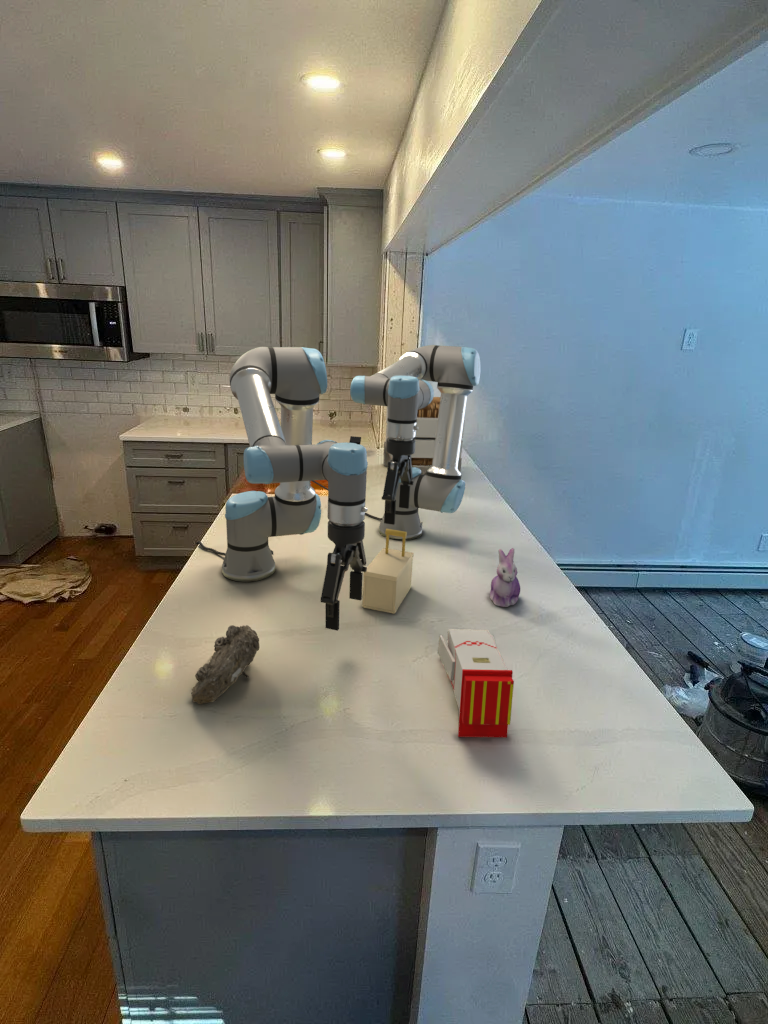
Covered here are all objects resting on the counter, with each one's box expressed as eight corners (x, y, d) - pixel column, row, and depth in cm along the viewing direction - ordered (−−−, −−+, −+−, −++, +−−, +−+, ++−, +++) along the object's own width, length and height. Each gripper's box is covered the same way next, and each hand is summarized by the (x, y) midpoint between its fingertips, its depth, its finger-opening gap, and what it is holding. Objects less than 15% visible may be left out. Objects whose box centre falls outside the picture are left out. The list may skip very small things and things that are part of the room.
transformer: (382, 463, 289) (386, 382, 275) (445, 464, 293) (451, 384, 279) (390, 482, 257) (394, 392, 243) (460, 483, 261) (468, 394, 247)
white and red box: (488, 613, 130) (523, 677, 101) (484, 667, 133) (517, 744, 104) (435, 612, 130) (455, 676, 101) (432, 666, 133) (451, 743, 103)
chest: (380, 582, 164) (382, 552, 161) (410, 587, 162) (412, 557, 159) (362, 607, 150) (363, 575, 147) (394, 613, 147) (396, 581, 144)
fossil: (211, 627, 129) (258, 597, 124) (240, 656, 132) (287, 627, 127) (170, 698, 110) (224, 665, 105) (204, 729, 113) (259, 699, 108)
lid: (383, 551, 162) (384, 523, 159) (413, 556, 159) (415, 528, 156) (363, 575, 147) (364, 545, 144) (396, 581, 144) (398, 550, 141)
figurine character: (360, 458, 303) (361, 448, 316) (361, 444, 299) (361, 435, 313) (348, 457, 302) (349, 447, 316) (348, 444, 299) (349, 434, 312)
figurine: (502, 611, 151) (509, 560, 146) (479, 594, 159) (485, 545, 154) (530, 604, 155) (537, 554, 150) (506, 588, 163) (512, 540, 158)
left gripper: (340, 545, 102) (338, 646, 109) (382, 504, 125) (379, 590, 132) (302, 539, 104) (303, 639, 111) (351, 500, 127) (349, 585, 134)
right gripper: (401, 449, 133) (397, 533, 141) (426, 430, 156) (421, 503, 163) (371, 446, 136) (368, 528, 143) (400, 427, 158) (396, 499, 165)
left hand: (344, 613), depth 122 cm, fingers open, 13 cm apart
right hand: (396, 515), depth 153 cm, fingers open, 13 cm apart
